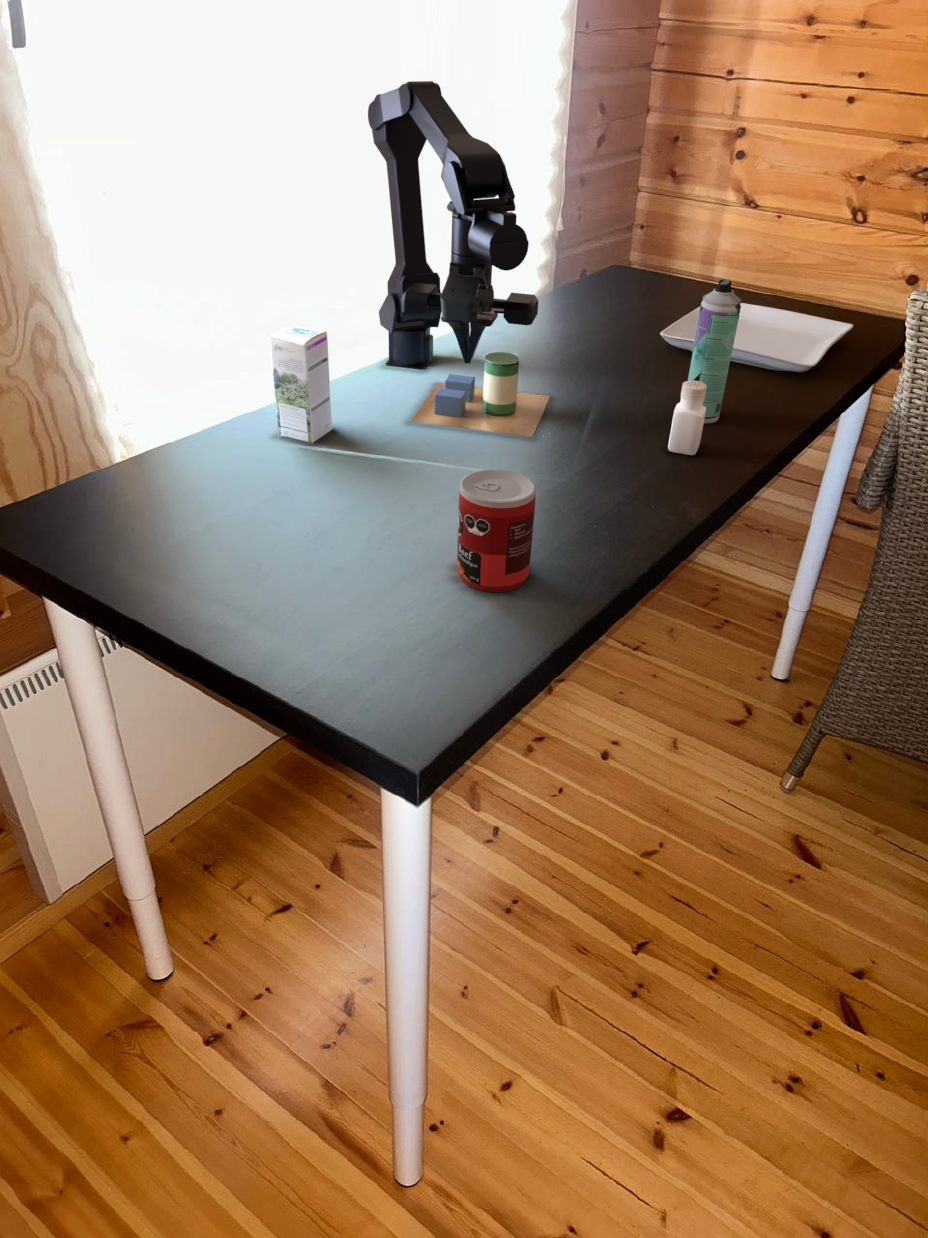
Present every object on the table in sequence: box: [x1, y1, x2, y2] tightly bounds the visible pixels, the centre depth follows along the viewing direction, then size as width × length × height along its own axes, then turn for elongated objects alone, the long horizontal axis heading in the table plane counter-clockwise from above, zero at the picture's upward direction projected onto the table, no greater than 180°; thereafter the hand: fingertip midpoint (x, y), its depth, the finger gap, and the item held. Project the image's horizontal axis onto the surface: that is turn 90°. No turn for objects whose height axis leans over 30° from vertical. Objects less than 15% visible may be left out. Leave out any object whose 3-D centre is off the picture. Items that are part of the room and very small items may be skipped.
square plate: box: [659, 302, 854, 373], centre depth 170 cm, size 27×27×4 cm
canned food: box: [456, 469, 537, 593], centre depth 102 cm, size 8×8×11 cm
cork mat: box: [410, 382, 551, 438], centre depth 143 cm, size 18×16×1 cm
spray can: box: [687, 278, 742, 424], centre depth 138 cm, size 6×6×20 cm
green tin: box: [482, 351, 520, 417], centre depth 140 cm, size 9×5×9 cm
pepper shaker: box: [667, 380, 707, 456], centre depth 131 cm, size 4×4×10 cm
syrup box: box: [269, 324, 333, 444], centre depth 129 cm, size 6×6×14 cm
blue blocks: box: [435, 373, 476, 417], centre depth 142 cm, size 4×9×3 cm, turn 167°
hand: (467, 362), depth 139 cm, fingers closed
